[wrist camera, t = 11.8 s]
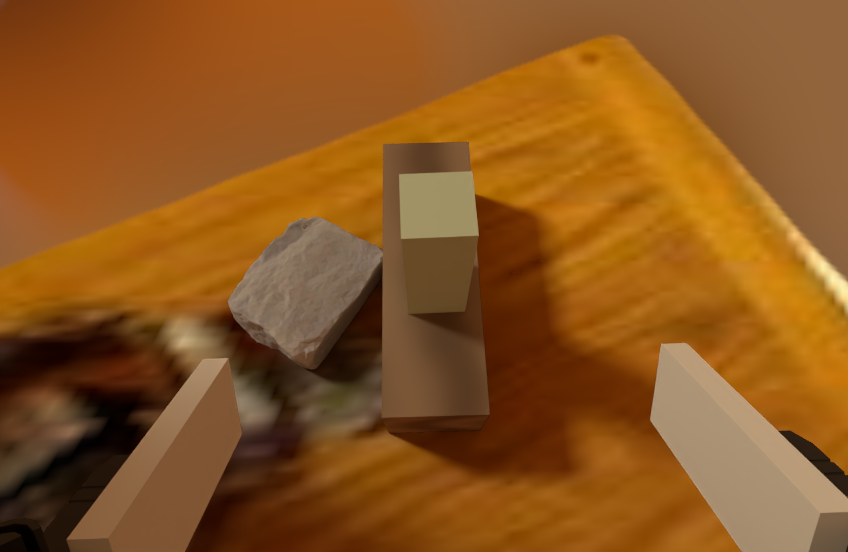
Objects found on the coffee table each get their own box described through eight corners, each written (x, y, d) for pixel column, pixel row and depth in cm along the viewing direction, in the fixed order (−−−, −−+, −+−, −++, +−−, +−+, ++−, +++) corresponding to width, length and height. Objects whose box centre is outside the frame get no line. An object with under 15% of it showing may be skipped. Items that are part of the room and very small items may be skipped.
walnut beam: (389, 433, 40) (381, 417, 34) (389, 192, 49) (383, 144, 43) (480, 430, 40) (489, 414, 34) (463, 189, 49) (468, 141, 43)
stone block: (233, 331, 46) (320, 383, 42) (206, 305, 42) (299, 359, 38) (315, 232, 50) (400, 270, 46) (297, 199, 46) (388, 238, 42)
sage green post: (408, 314, 37) (400, 238, 27) (406, 263, 38) (398, 174, 28) (465, 311, 37) (478, 235, 27) (460, 260, 38) (472, 171, 28)
